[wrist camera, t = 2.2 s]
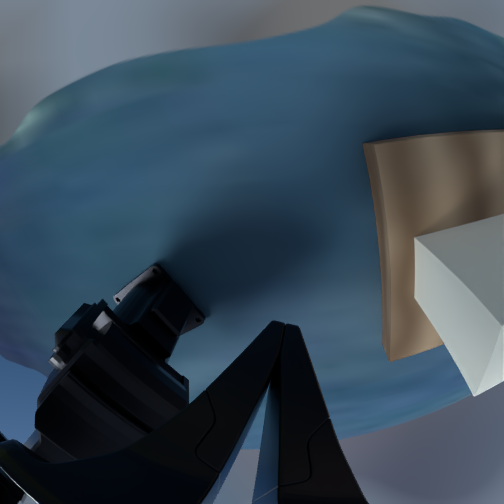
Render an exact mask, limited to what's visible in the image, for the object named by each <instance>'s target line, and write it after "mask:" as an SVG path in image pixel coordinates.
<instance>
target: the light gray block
mask: <svg viewBox="0 0 504 504" xmlns="http://www.w3.org/2000/svg"><path fill="white" fill-rule="evenodd" d="M414 244H415V296H414V298H415V300H416V301H417V303H418V304H419V305H420V307H421V308H422V310H423V311H424V313H425V314H426V316H427V317H428V319H429V320H430V322H431V323H432V325H433V326H434V328H435V330H436V331H437V333H438V334H439V336H440V338H441V339H442V341H443V342H444V344H445V346H446V347H447V349H448V351H449V352H450V354H451V356H452V357H453V359H454V361H455V363H456V364H457V366H458V368H459V370H460V371H461V373H462V375H463V377H464V379H465V381H466V382H467V384H468V386H469V388H470V390H471V392H472V394H473V396H476V395H479V394H480V393H482V392H484V391H486V390H488V389H490V388H491V387H493V386H495V385H497V384H499V383H500V382H502V381H504V214H501V215H498V216H494V217H490V218H487V219H483V220H479V221H476V222H472V223H468V224H464V225H461V226H457V227H453V228H449V229H445V230H441V231H438V232H434V233H430V234H426V235H422V236H418V237H414Z"/></svg>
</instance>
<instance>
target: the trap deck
mask: <svg viewBox="0 0 504 504" xmlns="http://www.w3.org/2000/svg"><path fill="white" fill-rule="evenodd" d="M362 144H363V149H364V153H365V158H366V163H367V168H368V174H369V179H370V185H371V191H372V197H373V204H374V211H375V218H376V226H377V235H378V245H379V256H380V268H381V285H382V318H383V335H382V345H383V347H384V350H385V352H386V355H387V357H388V360H389V362H392V361H395V360H398V359H402V358H405V357H408V356H411V355H414V354H417V353H420V352H423V351H426V350H429V349H432V348H435V347H437V346H440V345H443V344H444V342H443V341H442V339H441V338H440V336H439V334H438V333H437V331H436V330H435V328H434V326H433V325H432V323H431V322H430V320H429V319H428V317H427V316H426V314H425V313H424V311H423V310H422V308H421V307H420V305H419V304H418V303H417V301H416V300H415V298H414V296H415V244H414V237H418V236H422V235H426V234H430V233H434V232H438V231H441V230H445V229H449V228H453V227H457V226H461V225H464V224H468V223H472V222H476V221H479V220H483V219H487V218H490V217H494V216H498V215H501V214H504V129H500V130H473V131H458V132H445V133H435V134H425V135H416V136H408V137H401V138H393V139H386V140H380V141H373V142H367V143H362Z"/></svg>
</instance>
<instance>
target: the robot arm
mask: <svg viewBox="0 0 504 504" xmlns="http://www.w3.org/2000/svg"><path fill="white" fill-rule="evenodd" d="M154 269H157V271H158V272H156V271H155V270H154ZM118 298H119V299H118ZM114 301H115V302H116V303H117V304H118V305H117V306H116V308H115V309H114V310H113V311H112V310H111V309H110V308H109V307H108V306H107V305H108V304H107V303H106V302H105V301H104V299H102V300H101V301H100V302H99V303H98V304H96V303H94V304H93V305H89V304H86V303H84V304H83V305H82V306H81V307H80V308H79V309H78V310H77V311H76V312H75V313H74V314H73V315H72V316H71V317H70V318H69V319H68V320H67V321H66V322H65V323H64V324H63V325H62V327H61V328H60V329H59V330H58V331H57V332H56V333H55V348H54V349H53V350H52V351H53V352H54V353H53V355H52V356H51V358H50V359H49V362H50V363H51V365H52V366H53V367H54V368H55V369H54V370H53V371H52V372H51V374H50V375H49V377H48V379H47V381H46V383H45V385H44V387H43V389H42V391H41V393H40V395H39V397H38V400H37V411H36V414H35V429H36V430H35V431H34V432H33V434H32V435H31V436H30V437H29V438H28V440H27V441H26V442H25V444H24V445H23V444H22V443H20V442H18V441H17V440H14V439H11V440H8V439H7V438H6V437H5V436H4V435H3V434H2V433H1V432H0V504H213V502H214V500H215V499H216V497H217V494H218V493H219V491H220V489H221V487H222V485H223V483H224V481H225V480H226V477H227V476H228V473H229V472H230V470H231V468H232V466H233V464H234V462H235V460H236V458H237V456H238V454H239V451H240V449H241V447H242V445H243V443H244V441H245V439H246V437H247V435H248V432H249V430H250V428H251V426H252V424H253V421H254V419H255V417H256V415H257V412H258V410H259V408H260V406H261V403H262V401H263V399H264V396H265V394H266V392H267V389H268V386H269V389H268V396H267V404H266V411H265V419H264V426H263V433H262V440H261V447H260V454H259V461H258V467H257V473H256V480H255V486H254V492H253V498H252V504H369V503H368V502H367V500H366V498H365V497H364V495H363V493H362V491H361V489H360V487H359V485H358V483H357V481H356V479H355V477H354V474H353V473H352V470H351V468H350V466H349V464H348V462H347V460H346V458H345V456H344V454H343V451H342V449H341V447H340V444H339V441H338V439H337V436H336V433H335V430H334V427H333V424H332V421H331V419H329V417H330V416H329V413H328V410H327V407H326V404H325V401H324V398H323V395H322V392H321V389H320V386H319V383H318V380H317V377H316V374H315V371H314V368H313V365H312V362H311V359H310V356H309V353H308V351H307V348H306V345H305V342H304V339H303V336H302V333H301V330H300V328H299V327H298V326H296V325H292V324H286V325H285V323H283V322H279V321H275V320H273V321H271V322H270V323H269V324H268V325H267V327H266V328H265V329H264V330H263V331H262V332H261V333H260V334H259V335H258V336H257V337H256V338H255V339H254V340H253V342H252V343H251V344H250V345H249V346H248V347H247V348H246V349H245V350H244V351H243V352H242V353H241V354H240V355H239V356H238V357H237V358H236V359H235V360H234V361H233V362H232V363H231V364H230V365H229V366H228V367H227V368H226V369H225V370H224V371H223V372H222V374H221V375H220V376H219V377H218V378H216V379H215V380H214V381H213V382H212V383H211V384H210V385H209V386H208V387H207V388H206V390H204V391H203V392H202V393H201V394H200V395H199V396H198V397H197V398H196V399H195V400H194V401H192V402H191V403H190V404H189V380H188V379H187V378H186V377H185V376H181V375H180V374H179V373H178V372H177V371H175V370H174V369H173V368H172V367H171V366H170V365H168V364H167V363H168V361H169V359H170V357H171V354H172V352H173V350H174V348H175V346H176V343H177V341H178V339H179V337H180V335H182V334H184V333H186V332H188V331H190V330H192V329H194V328H196V327H198V326H199V325H201V324H203V323H204V320H205V316H204V315H203V314H202V313H201V312H200V310H199V309H198V308H197V307H196V306H195V305H194V303H193V302H192V301H191V300H190V299H189V297H188V296H187V295H186V294H185V293H184V292H183V291H182V289H181V288H180V287H179V286H178V285H177V284H176V283H175V282H174V281H173V280H172V279H171V278H170V276H169V275H168V274H167V273H166V272H165V271H164V269H163V268H162V267H161V266H160V265H159V264H153V265H152V266H150V267H149V268H148V269H147V270H145V271H144V272H143V273H142V274H140V275H139V276H138V277H136V278H135V279H134V280H133V281H131V282H130V283H129V284H128V285H126V286H125V287H124V288H123V289H121V290H120V291H119V292H118V293H117V294H116V295H115V296H114ZM197 318H200V319H201V320H199V319H197ZM269 383H270V384H269Z"/></svg>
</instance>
